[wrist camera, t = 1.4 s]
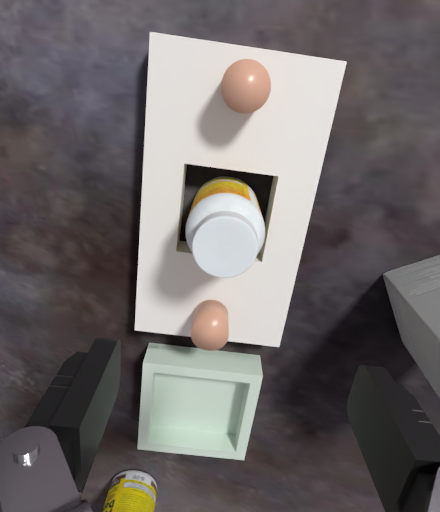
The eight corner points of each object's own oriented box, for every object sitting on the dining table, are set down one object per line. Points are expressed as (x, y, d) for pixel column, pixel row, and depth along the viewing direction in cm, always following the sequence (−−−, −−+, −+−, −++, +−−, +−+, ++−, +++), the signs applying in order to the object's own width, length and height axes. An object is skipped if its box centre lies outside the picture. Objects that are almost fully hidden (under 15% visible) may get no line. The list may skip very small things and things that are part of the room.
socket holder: (140, 315, 35) (126, 351, 30) (156, 38, 26) (140, 22, 21) (275, 331, 35) (284, 369, 30) (336, 65, 27) (362, 56, 22)
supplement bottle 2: (270, 210, 31) (288, 254, 22) (221, 249, 32) (220, 305, 23) (228, 160, 29) (230, 185, 20) (179, 203, 31) (161, 244, 22)
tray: (143, 425, 40) (137, 449, 37) (149, 342, 36) (142, 362, 33) (242, 435, 41) (244, 460, 38) (259, 355, 36) (262, 376, 34)
